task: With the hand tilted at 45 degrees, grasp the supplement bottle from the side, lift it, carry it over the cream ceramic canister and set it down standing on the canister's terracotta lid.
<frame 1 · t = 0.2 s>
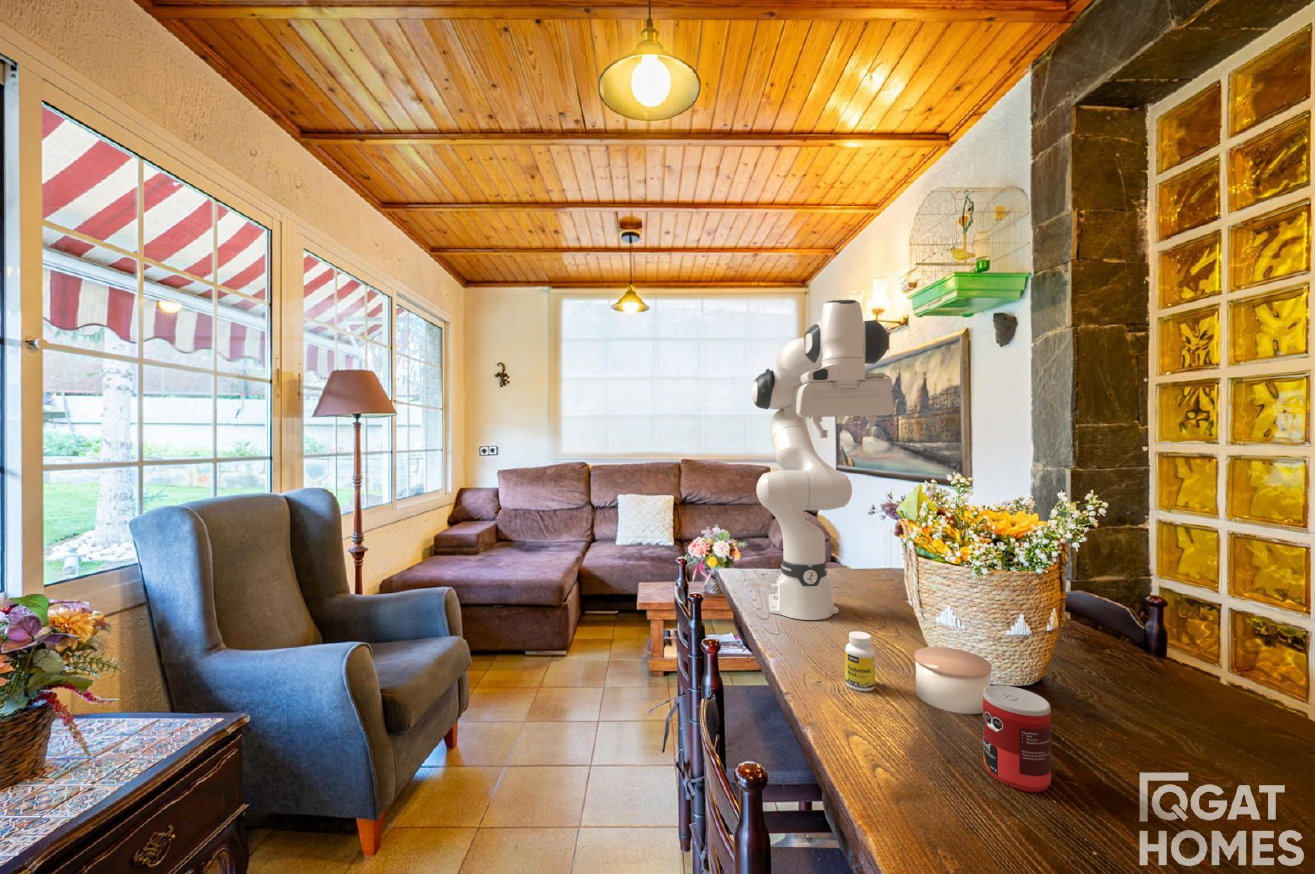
hand: (844, 437, 117), 48 cm above the table, tool pointing down, fingers open, 8 cm apart
canned food: (1016, 776, 76), on the table
supplement bottle: (860, 686, 103), on the table
ceramic canister: (952, 697, 99), on the table
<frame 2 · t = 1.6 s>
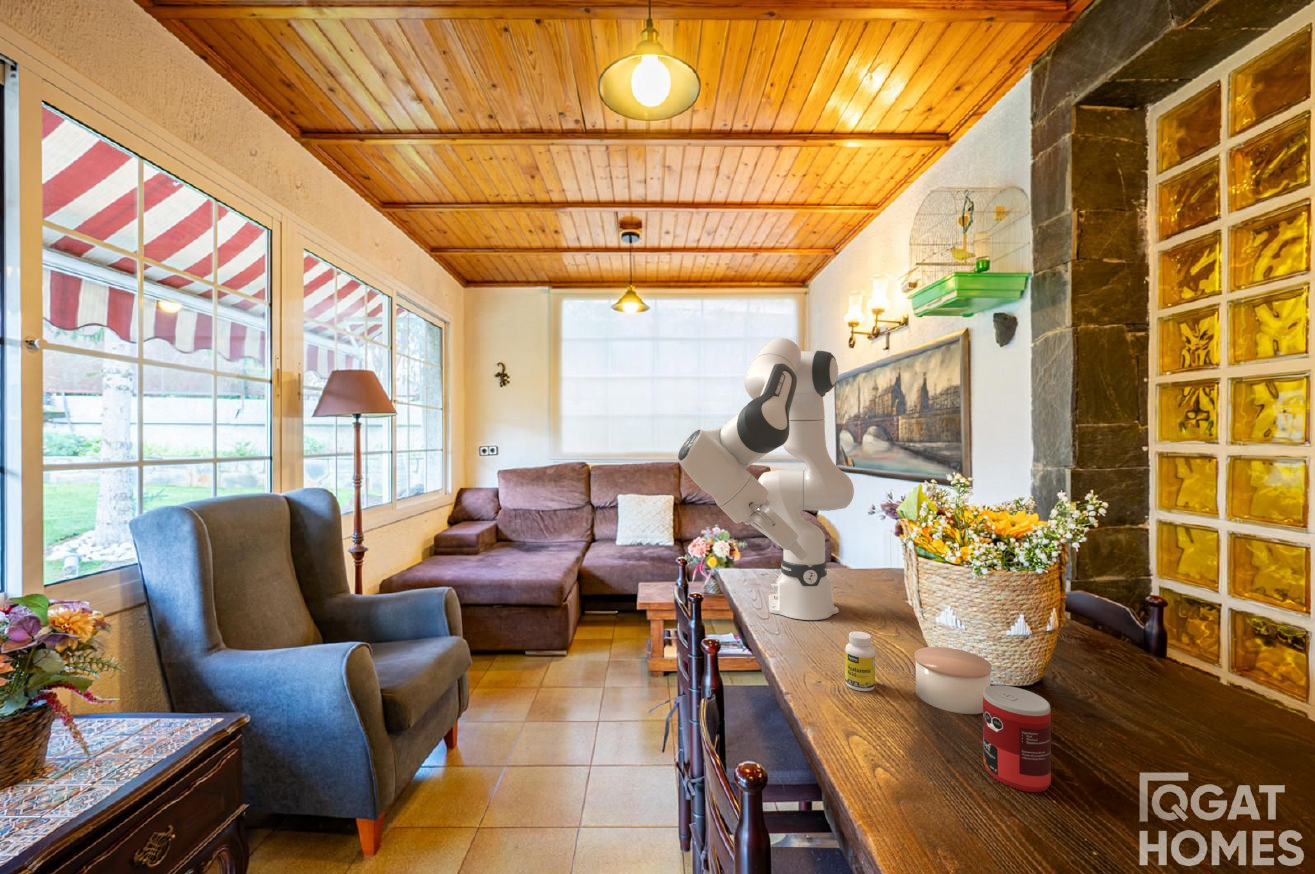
hand: (796, 551, 103), 26 cm above the table, tool tilted 45°, fingers open, 8 cm apart
nothing on the table moved.
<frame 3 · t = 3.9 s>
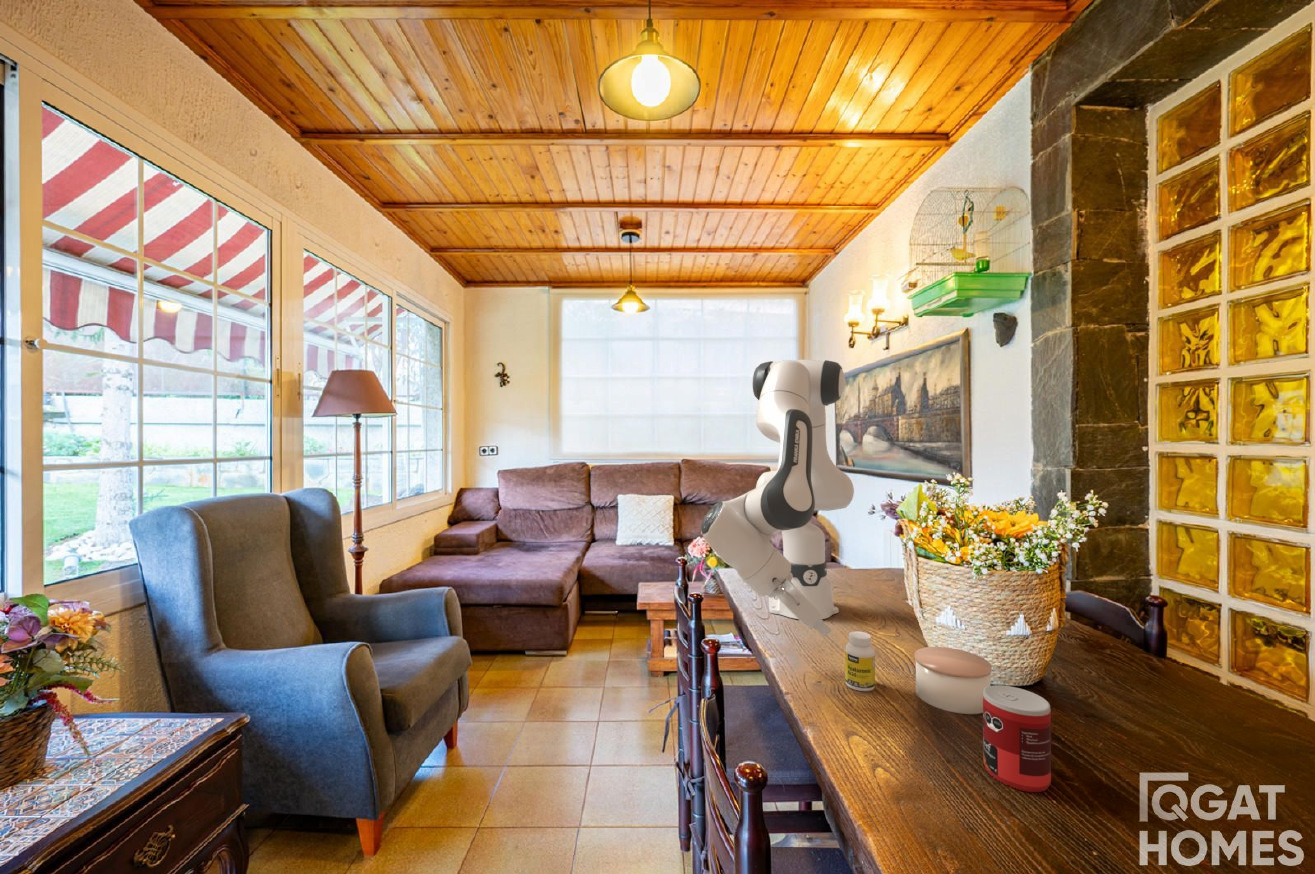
hand: (819, 623, 103), 12 cm above the table, tool tilted 45°, fingers open, 8 cm apart
nothing on the table moved.
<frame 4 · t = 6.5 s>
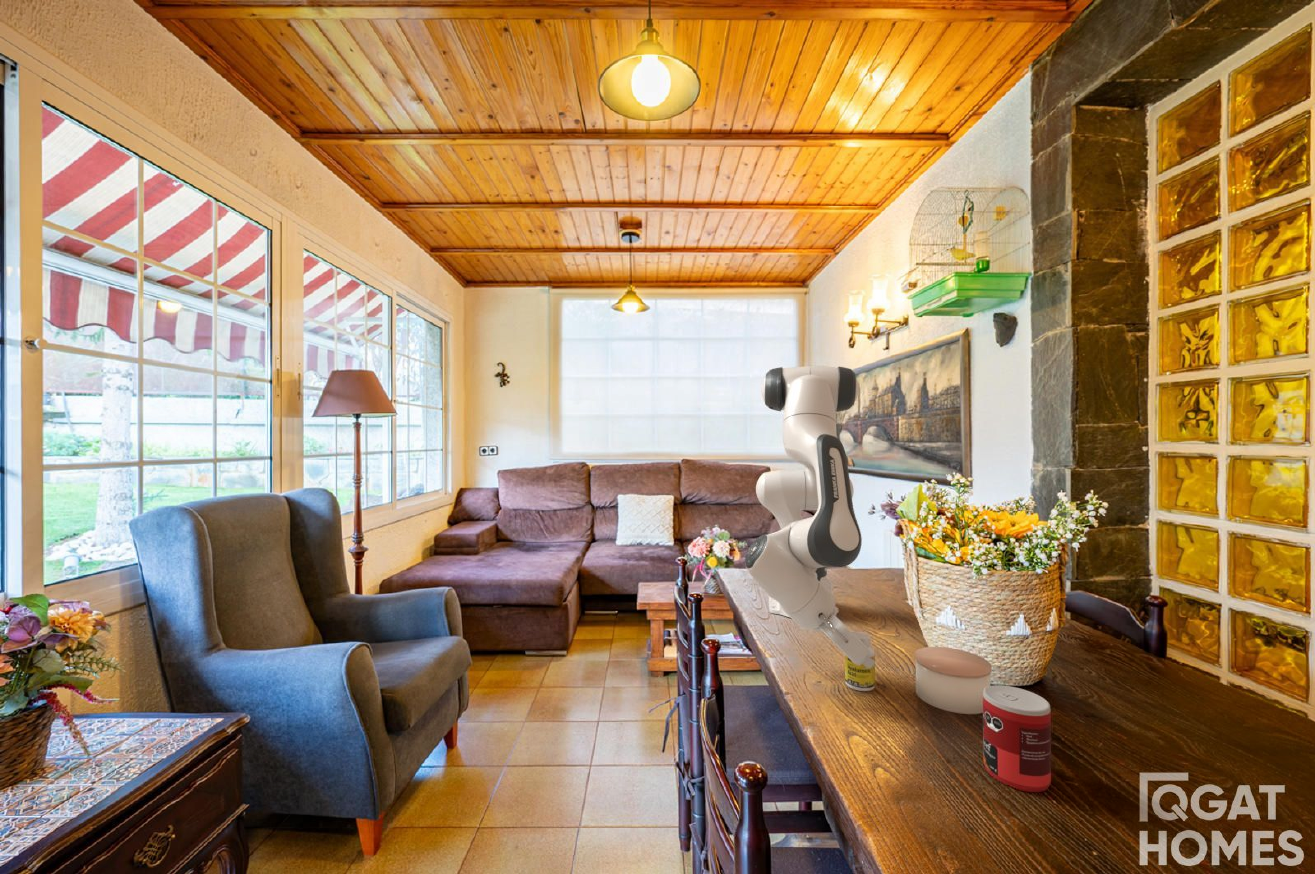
hand: (863, 657, 104), 5 cm above the table, tool tilted 45°, fingers closed on supplement bottle, 5 cm apart
supplement bottle: (860, 686, 103), on the table, touching gripper
everything else where it was.
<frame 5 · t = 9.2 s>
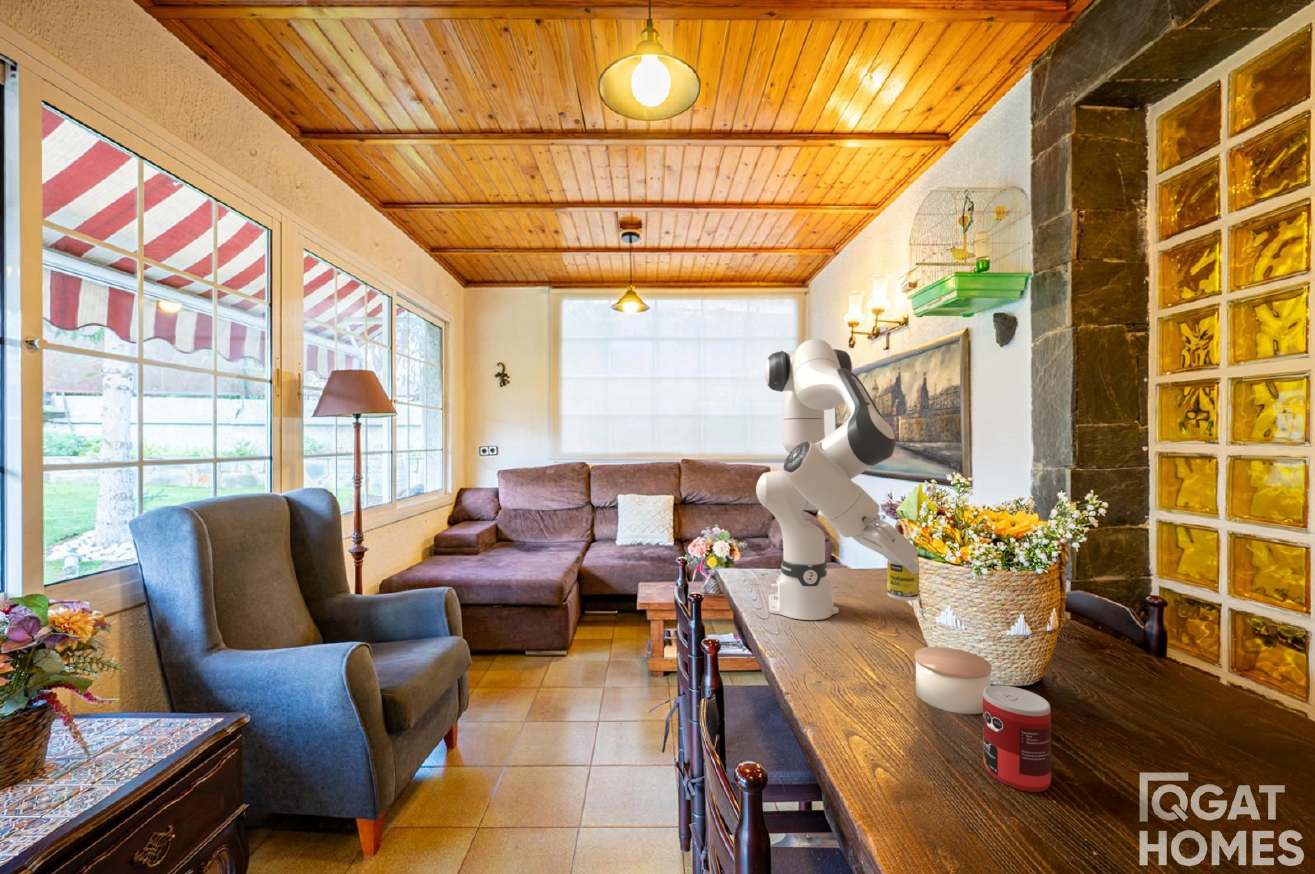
hand: (906, 566, 101), 23 cm above the table, tool tilted 45°, fingers closed on supplement bottle, 5 cm apart
supplement bottle: (902, 597, 101), point 18 cm above the table, touching gripper
everything else where it was.
when the fingers open (14 cm above the table, at t = 12.3 s): supplement bottle drops 2 cm, resting on ceramic canister.
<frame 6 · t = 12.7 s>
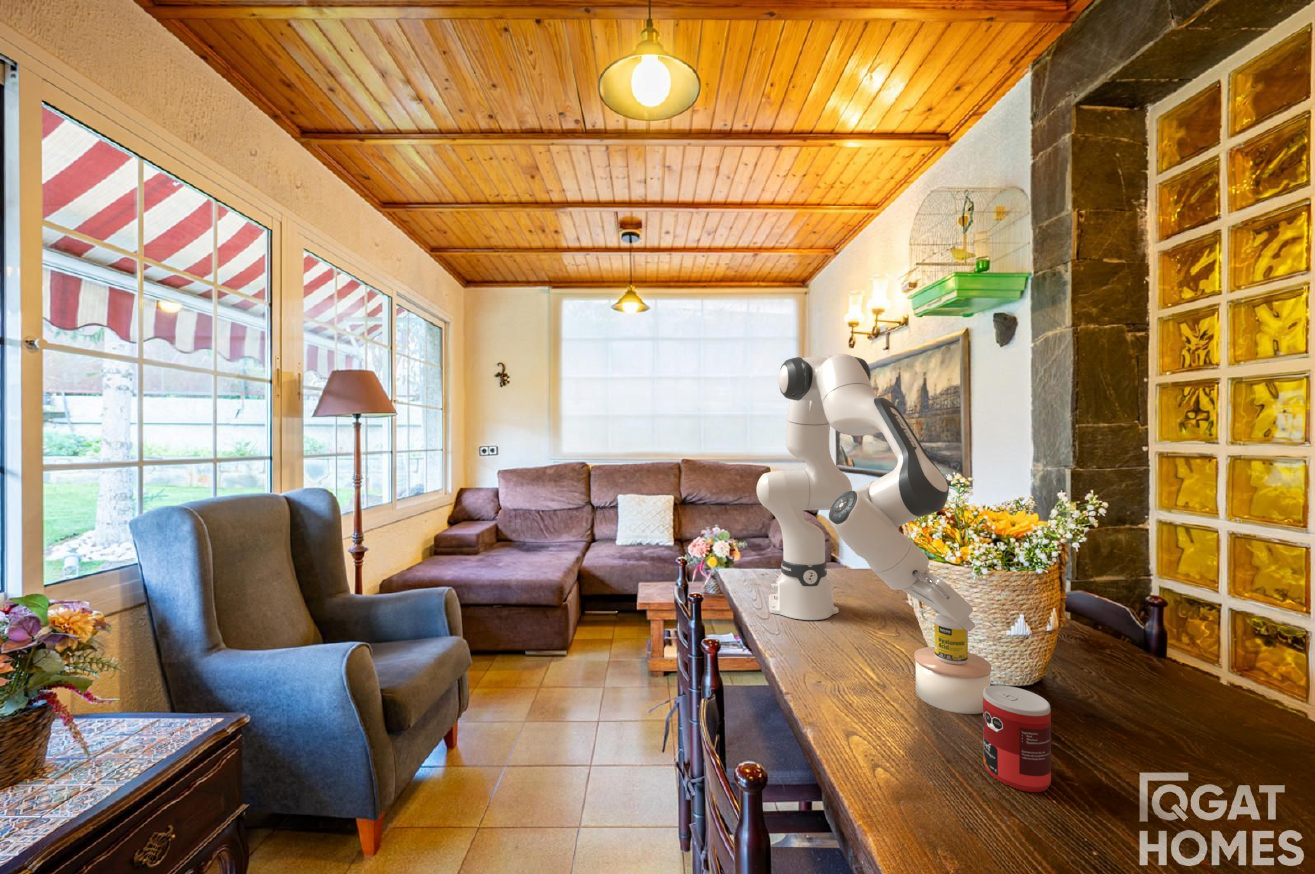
hand: (954, 618, 99), 14 cm above the table, tool tilted 45°, fingers open, 8 cm apart
supplement bottle: (951, 660, 99), point 7 cm above the table, touching ceramic canister
ceramic canister: (951, 697, 99), on the table, touching supplement bottle
everything else where it was.
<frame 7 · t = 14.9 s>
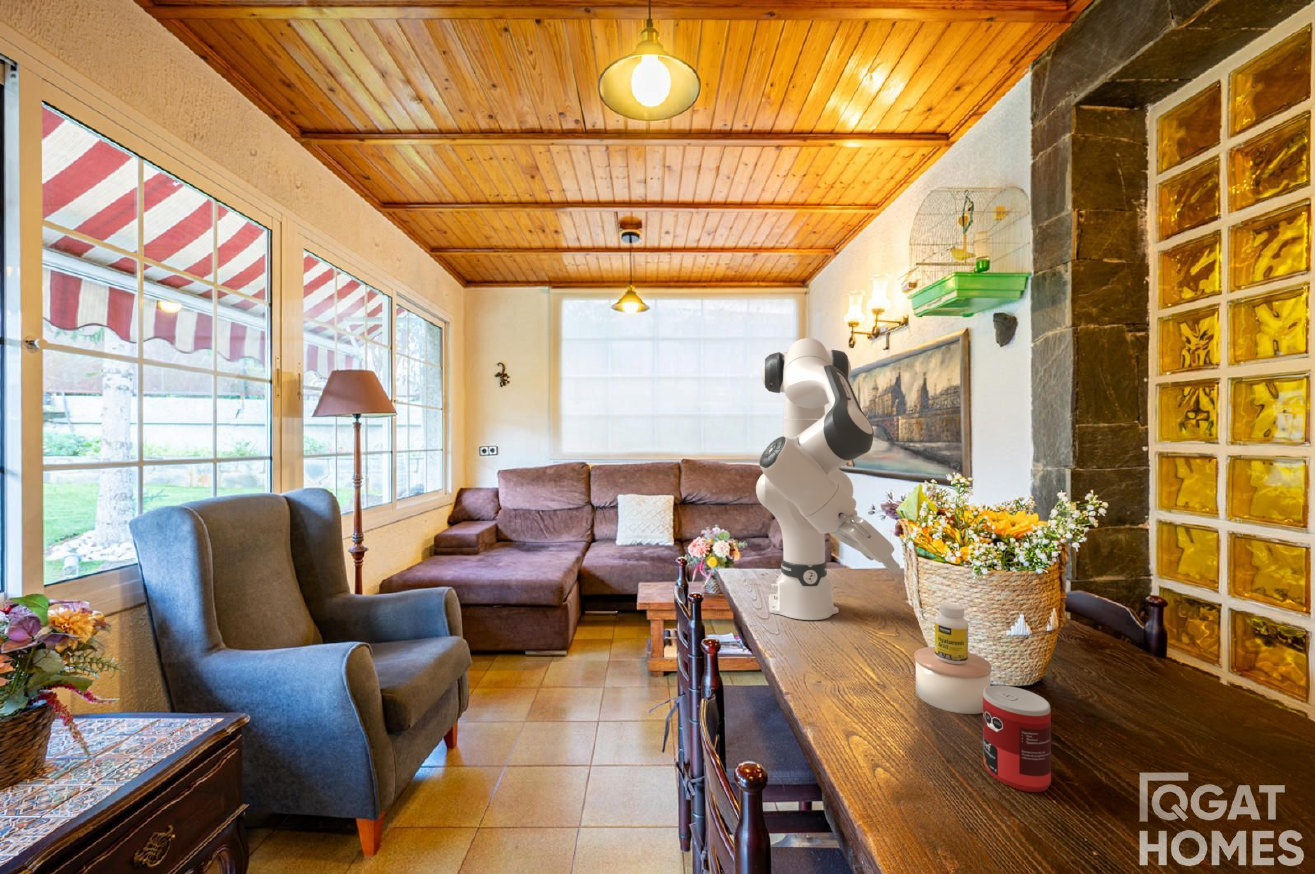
hand: (884, 563, 99), 24 cm above the table, tool tilted 45°, fingers open, 8 cm apart
nothing on the table moved.
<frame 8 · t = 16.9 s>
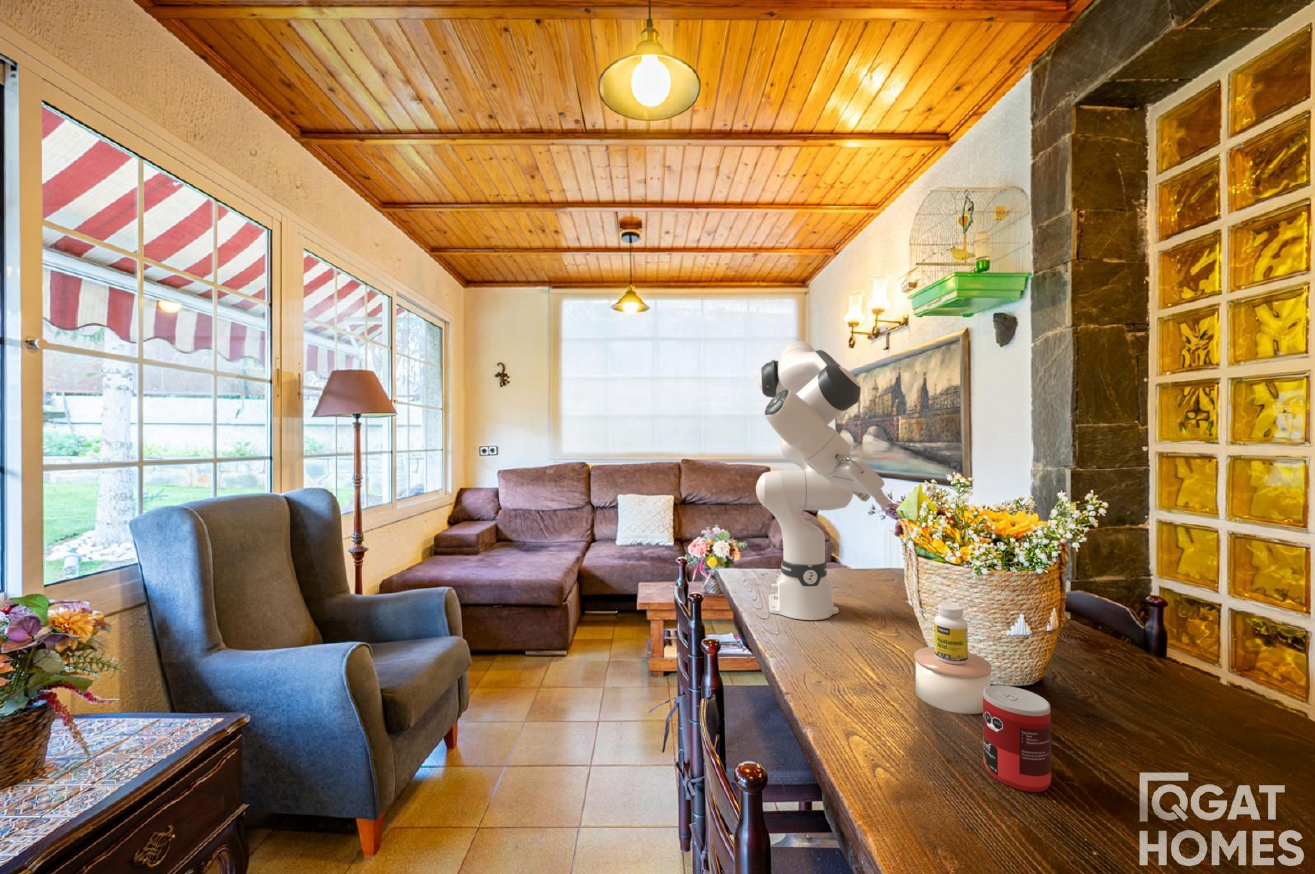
hand: (876, 501, 112), 34 cm above the table, tool tilted 45°, fingers open, 8 cm apart
nothing on the table moved.
at the end: supplement bottle inside the target area on the ceramic canister (0.1 cm from its centre), point 6.8 cm above the ceramic canister's base; supplement bottle tilted 1°; the gripper is holding nothing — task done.
